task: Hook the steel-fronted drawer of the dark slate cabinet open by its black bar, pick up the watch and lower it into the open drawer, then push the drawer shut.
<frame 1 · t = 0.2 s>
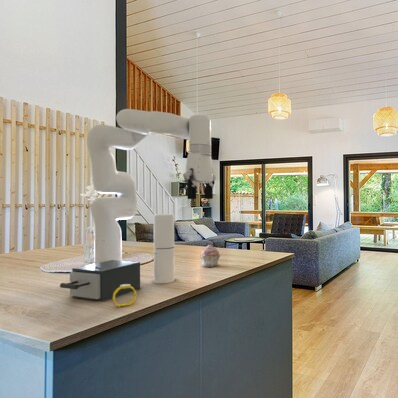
hand: (200, 198, 115), 31 cm above the countertop, tool pointing down, fingers open, 9 cm apart
cupcake: (210, 266, 148), on the countertop
cabinet: (107, 292, 107), on the countertop
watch: (124, 306, 94), on the countertop
drawer: (96, 282, 103), point 5 cm above the countertop, slide at 0.0 cm
cylindrical container: (164, 281, 121), on the countertop
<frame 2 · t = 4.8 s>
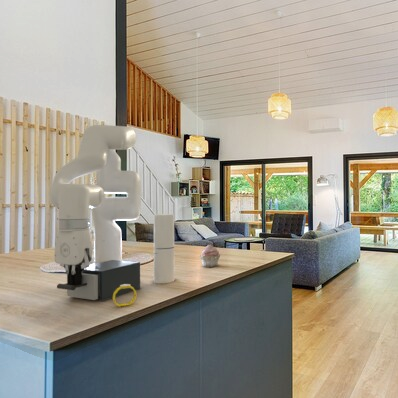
hand: (74, 286, 96), 5 cm above the countertop, tool pointing down, fingers closed
drawer: (93, 282, 102), point 5 cm above the countertop, slide at 0.9 cm, touching gripper
everything else where it was.
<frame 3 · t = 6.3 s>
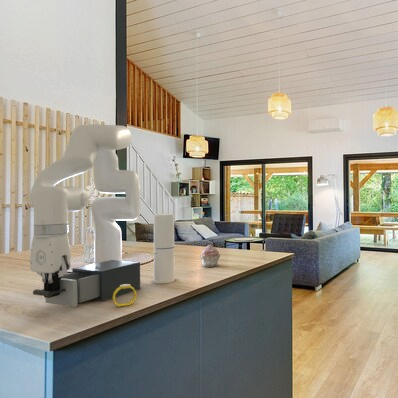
hand: (52, 296, 90), 4 cm above the countertop, tool pointing down, fingers closed
drawer: (73, 288, 96), point 5 cm above the countertop, slide at 7.2 cm, touching gripper
everything else where it was.
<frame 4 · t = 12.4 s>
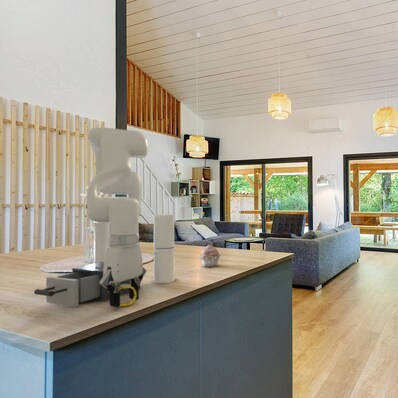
hand: (124, 301, 94), 1 cm above the countertop, tool pointing down, fingers closed on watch, 5 cm apart
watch: (124, 306, 94), on the countertop, touching gripper
drawer: (74, 287, 96), point 5 cm above the countertop, slide at 6.9 cm
everything else where it was.
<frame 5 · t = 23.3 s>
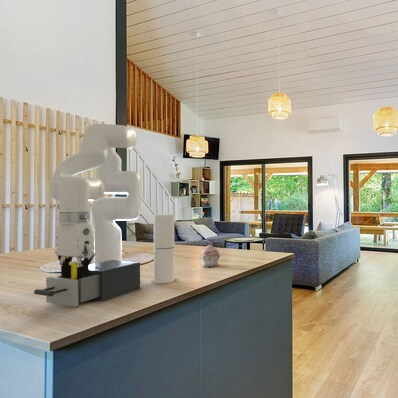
hand: (74, 278, 96), 7 cm above the countertop, tool pointing down, fingers closed on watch, 5 cm apart
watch: (74, 282, 96), point 6 cm above the countertop, touching gripper
drawer: (74, 287, 96), point 5 cm above the countertop, slide at 6.9 cm, touching gripper
everything else where it was.
when the fingers open (10 cm above the countertop, at t = 35.6 s): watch drops 6 cm, resting on drawer.
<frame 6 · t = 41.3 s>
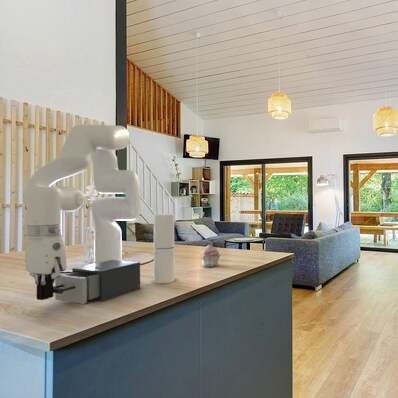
hand: (45, 298, 88), 4 cm above the countertop, tool pointing down, fingers closed
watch: (84, 291, 99), point 3 cm above the countertop, touching drawer
drawer: (82, 285, 99), point 5 cm above the countertop, slide at 4.4 cm, touching gripper, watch
everything else where it was.
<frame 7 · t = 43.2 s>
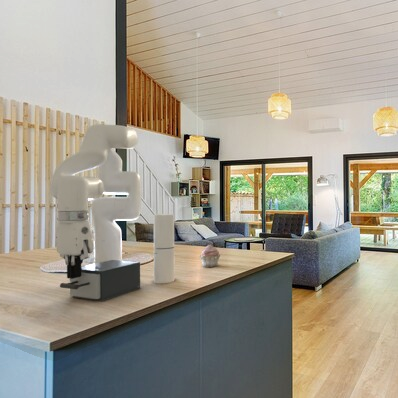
hand: (74, 277, 98), 7 cm above the countertop, tool pointing down, fingers closed
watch: (97, 287, 103), point 3 cm above the countertop, touching drawer
drawer: (96, 282, 103), point 5 cm above the countertop, slide at 0.0 cm, touching cabinet, gripper, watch
everything else where it was.
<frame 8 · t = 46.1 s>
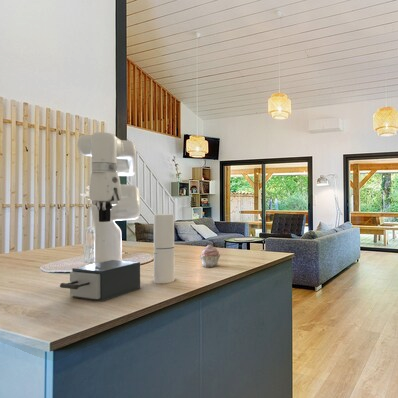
hand: (104, 221, 112), 23 cm above the countertop, tool pointing down, fingers closed
drawer: (96, 282, 103), point 5 cm above the countertop, slide at 0.0 cm, touching cabinet, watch
everything else where it was.
at the end: drawer pulled out 7.2 cm at the most during the clip and back in by the end; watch inside the target area in the cabinet (3.3 cm from its centre), point 2.7 cm above the cabinet's base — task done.
